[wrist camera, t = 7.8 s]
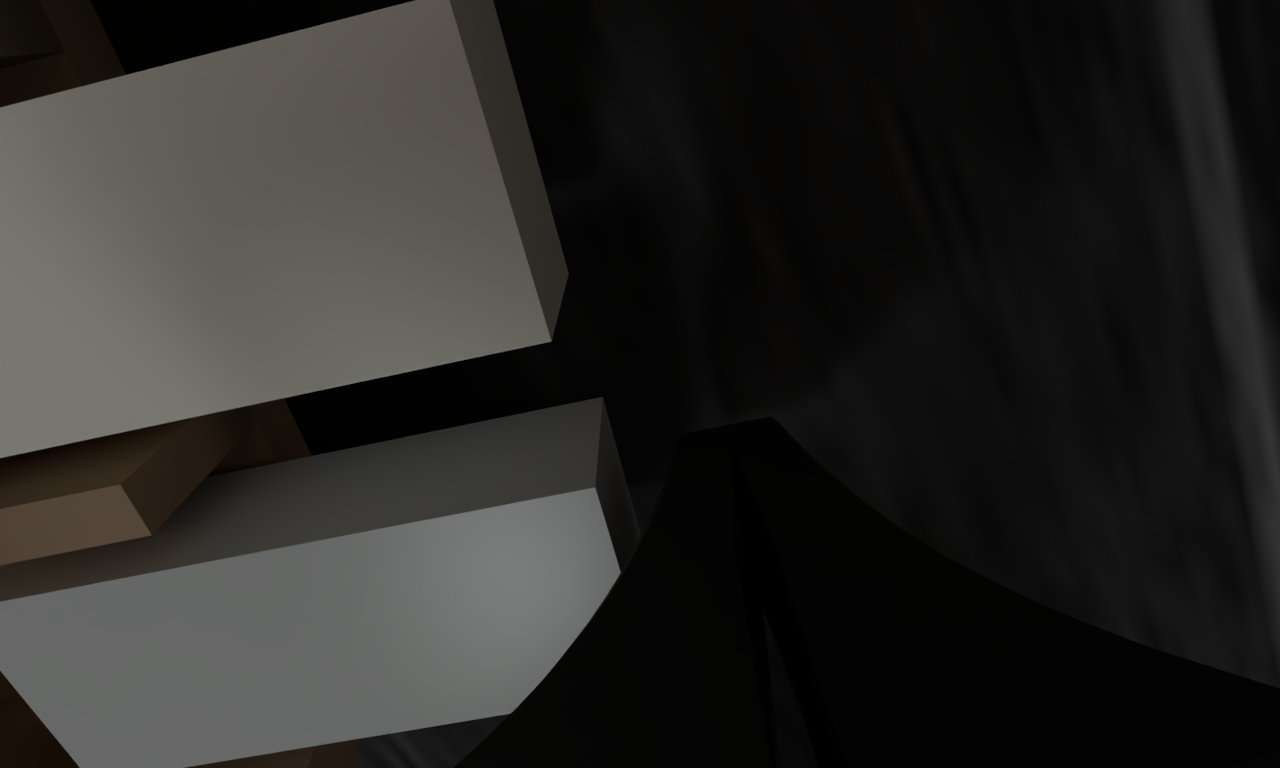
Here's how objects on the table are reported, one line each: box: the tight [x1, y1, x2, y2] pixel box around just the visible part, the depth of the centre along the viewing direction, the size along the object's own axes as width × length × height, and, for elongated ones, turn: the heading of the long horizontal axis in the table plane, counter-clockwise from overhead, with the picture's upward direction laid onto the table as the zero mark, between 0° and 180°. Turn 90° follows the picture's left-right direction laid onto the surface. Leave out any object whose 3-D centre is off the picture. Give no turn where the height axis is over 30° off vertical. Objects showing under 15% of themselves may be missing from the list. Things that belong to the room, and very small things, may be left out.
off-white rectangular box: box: [0, 0, 569, 458], centre depth 8 cm, size 8×3×2 cm, turn 103°
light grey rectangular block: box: [0, 397, 641, 768], centre depth 10 cm, size 8×3×2 cm, turn 103°
